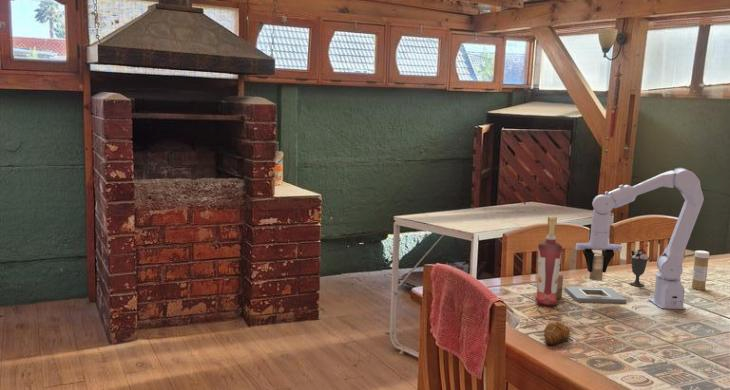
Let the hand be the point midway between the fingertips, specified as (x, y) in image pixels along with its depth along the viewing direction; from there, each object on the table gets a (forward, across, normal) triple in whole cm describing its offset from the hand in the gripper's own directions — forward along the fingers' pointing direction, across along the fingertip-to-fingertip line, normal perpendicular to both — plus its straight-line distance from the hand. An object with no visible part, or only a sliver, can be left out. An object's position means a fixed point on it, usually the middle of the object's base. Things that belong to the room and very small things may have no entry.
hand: (596, 271), depth 212 cm
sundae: (+9, -21, -16) cm, 28 cm away
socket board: (+8, 0, 0) cm, 8 cm away
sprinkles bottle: (+9, -42, -14) cm, 45 cm away
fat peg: (+9, +15, 0) cm, 17 cm away
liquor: (+9, +19, +10) cm, 23 cm away
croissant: (+9, +25, +41) cm, 49 cm away
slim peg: (+3, 0, 0) cm, 3 cm away
